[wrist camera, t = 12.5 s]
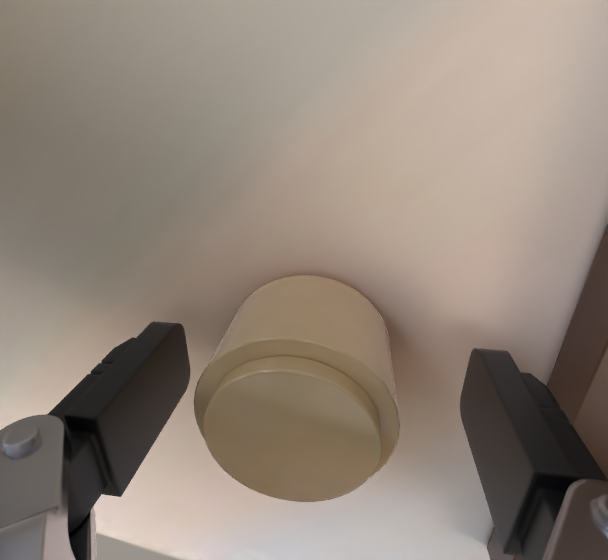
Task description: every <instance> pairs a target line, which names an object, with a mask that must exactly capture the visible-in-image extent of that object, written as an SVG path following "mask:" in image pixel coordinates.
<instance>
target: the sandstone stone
mask: <svg viewBox="0 0 608 560" xmlns="http://www.w3.org/2000/svg"><path fill="white" fill-rule="evenodd" d="M194 412H195V417H196V421H197V425H198V427H199V430H200V432H201V434H202V436H203V438H204V439H205V441H206V444H207V446H208V449H209V451H210V452H211V454H212V456H213V457H214V459H215V460H216V462H217V463H218V464H219V465H220V466H221V467H222V468H223V469H224V471H226V472H227V473H228V474H229V475H230V476H231V477H233V478H234V479H235V480H237V481H238V482H240V483H241V484H243V485H245V486H247V487H248V488H250V489H252V490H254V491H257V492H259V493H262V494H264V495H267V496H270V497H274V498H278V499H282V500H288V501H297V502H315V501H324V500H329V499H333V498H337V497H340V496H343V495H345V494H347V493H350V492H351V491H353V490H355V489H357V488H358V487H359V486H361V485H362V484H363V483H364V482H365V481H366V480H367V479H368V478H370V477H371V476H372V475H374V474H375V473H376V472H378V471H379V470H380V469H381V468H382V467H383V466H384V465H385V464H386V462H387V461H388V459H389V458H390V456H391V455H392V453H393V451H394V448H395V446H396V444H397V440H398V436H399V427H400V423H399V413H398V405H397V397H396V389H395V381H394V373H393V365H392V357H391V349H390V341H389V335H388V331H387V327H386V325H385V323H384V321H383V318H382V317H381V315H380V314H379V312H378V311H377V309H376V308H375V307H374V306H373V305H372V303H371V302H370V301H369V300H367V299H366V298H365V297H364V296H363V295H362V294H360V293H359V292H357V291H356V290H355V289H353V288H351V287H349V286H347V285H345V284H344V283H341V282H338V281H336V280H333V279H329V278H325V277H320V276H312V275H297V276H289V277H284V278H280V279H277V280H274V281H272V282H269V283H267V284H265V285H263V286H262V287H260V288H258V289H257V290H256V291H254V292H253V293H252V294H251V295H250V296H249V297H248V298H247V299H246V300H245V301H244V303H243V304H242V305H241V307H240V308H239V310H238V312H237V314H236V315H235V317H234V319H233V321H232V322H231V324H230V326H229V328H228V329H227V331H226V333H225V335H224V336H223V338H222V340H221V341H220V343H219V345H218V347H217V348H216V350H215V352H214V354H213V355H212V357H211V359H210V361H209V362H208V364H207V366H206V368H205V369H204V371H203V373H202V375H201V377H200V379H199V381H198V383H197V387H196V390H195V396H194Z"/></svg>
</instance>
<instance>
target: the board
mask: <svg viewBox="0 0 608 560" xmlns="http://www.w3.org/2000/svg"><path fill="white" fill-rule="evenodd" d="M547 388H549V390H550V391H551V393H552V394H553V396H554V397H555V399H556V401H557V402H558V404H559V405H560V409H562V410H563V411H564V413H565V414H566V416H567V418H568V419H569V423H570V425H573V427H574V428H575V430H576V431H577V433H578V435H579V436H580V438H581V439H582V441H583V442H584V444H585V445H586V447H587V448H588V450H589V452H590V453H591V455H592V456H593V458H594V459H595V461H596V462H597V464H598V465H599V467H600V469H601V470H602V472H603V473H604V475H605V476H606V478H607V479H608V225H607V227H606V230H605V233H604V235H603V238H602V241H601V243H600V246H599V249H598V251H597V254H596V257H595V259H594V262H593V265H592V267H591V270H590V273H589V276H588V278H587V281H586V284H585V286H584V289H583V292H582V294H581V297H580V300H579V302H578V305H577V308H576V310H575V313H574V316H573V318H572V321H571V324H570V326H569V329H568V332H567V335H566V337H565V340H564V343H563V345H562V348H561V351H560V353H559V356H558V359H557V361H556V364H555V367H554V369H553V372H552V375H551V377H550V380H549V383H548V385H547ZM487 549H488V552H489V556H490V559H491V560H525V557H522V556H516V555H509V554H503V551H502V548H501V545H500V541H499V538H498V535H497V532H496V529H495V528H494V530H493V533H492V536H491V538H490V541H489V544H488V546H487Z"/></svg>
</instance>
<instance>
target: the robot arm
mask: <svg viewBox="0 0 608 560" xmlns="http://www.w3.org/2000/svg"><path fill="white" fill-rule="evenodd" d="M189 379H190V364H189V357H188V351H187V344H186V338H185V331H184V328H183V326H182V325H181V324H179V323H167V322H155V321H154V322H152V323H150V324H149V325H148V326H147V327H146V328H145V329H144V331H143V332H142V333H141V334H140V335H139V336H138V337H137V338H131V339H129V340H127V341H126V342H124V343H122V344H120V345H119V346H117V347H115V348H114V349H113V350H112V351H111V352H110V353H109V354H108V355H107V356H106V357H105V358H104V359H103V360H102V363H99V364H98V365H97V366H96V367H95V368H94V369H93V370H92V371H91V374H88V375H87V376H86V377H85V378H84V379H83V380H82V381H81V382H80V383H79V384H78V385H77V386H76V387H75V388H74V389H73V390H72V391H71V392H70V393H69V394H68V395H67V396H66V397H65V398H64V399H63V400H62V401H61V402H60V403H59V404H58V405H57V406H56V407H55V408H54V409H53V410H52V411H51V412H50V413H49V414H48V415H36V416H31V417H27V418H24V419H21V420H18V421H16V422H14V423H12V424H10V425H8V426H6V427H5V428H3V429H1V430H0V560H97V558H96V520H95V511H94V508H93V506H94V504H95V503H96V501H97V500H98V498H99V497H100V495H101V494H105V495H112V496H119V497H121V496H122V494H123V493H124V491H125V489H126V488H127V486H128V484H129V483H130V481H131V479H132V478H133V476H134V475H135V473H136V471H137V470H138V468H139V466H140V465H141V463H142V461H143V460H144V458H145V457H146V455H147V453H148V452H149V450H150V448H151V447H152V445H153V443H154V442H155V440H156V439H157V437H158V435H159V434H160V432H161V430H162V429H163V427H164V426H165V424H166V422H167V421H168V419H169V417H170V416H171V414H172V412H173V411H174V409H175V408H176V406H177V404H178V403H179V401H180V399H181V398H182V396H183V394H184V393H185V391H186V389H187V387H188V384H189ZM460 411H461V418H462V422H463V426H464V429H465V432H466V435H467V438H468V442H469V445H470V448H471V451H472V455H473V458H474V461H475V464H476V467H477V471H478V474H479V477H480V480H481V483H482V487H483V490H484V493H485V496H486V500H487V503H488V506H489V509H490V512H491V516H492V519H493V522H494V525H495V529H496V532H497V535H498V538H499V541H500V545H501V548H502V551H503V554H509V555H516V556H522V557H525V560H608V479H607V478H606V476H605V475H604V473H603V472H602V470H601V469H600V467H599V465H598V464H597V462H596V461H595V459H594V458H593V456H592V455H591V453H590V452H589V450H588V448H587V447H586V445H585V444H584V442H583V441H582V439H581V438H580V436H579V435H578V433H577V431H576V430H575V428H574V427H573V425H570V423H569V419H568V418H567V416H566V414H565V413H564V411H563V410H562V409H560V405H559V404H558V402H557V401H556V399H555V397H554V396H553V394H552V393H551V391H550V390H549V388H547V387H546V386H545V385H544V384H543V383H541V382H540V381H539V380H538V379H537V378H535V377H534V376H533V375H532V374H530V373H521V372H520V371H519V369H518V368H517V366H516V364H515V362H514V361H513V359H512V357H511V355H510V354H509V353H508V352H507V351H502V350H490V349H477V348H475V349H473V350H472V352H471V355H470V359H469V363H468V368H467V372H466V376H465V380H464V385H463V389H462V393H461V399H460Z"/></svg>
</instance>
